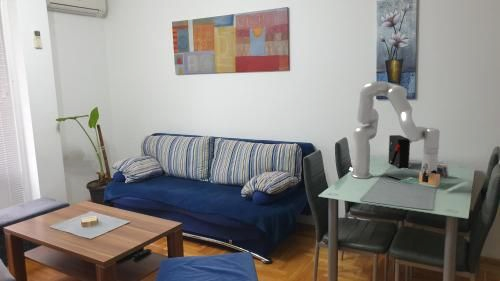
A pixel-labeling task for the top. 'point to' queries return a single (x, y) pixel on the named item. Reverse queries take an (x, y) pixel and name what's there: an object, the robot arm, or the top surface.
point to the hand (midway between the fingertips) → (429, 180)
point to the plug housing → (431, 178)
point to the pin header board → (416, 181)
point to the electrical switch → (442, 170)
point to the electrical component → (399, 151)
